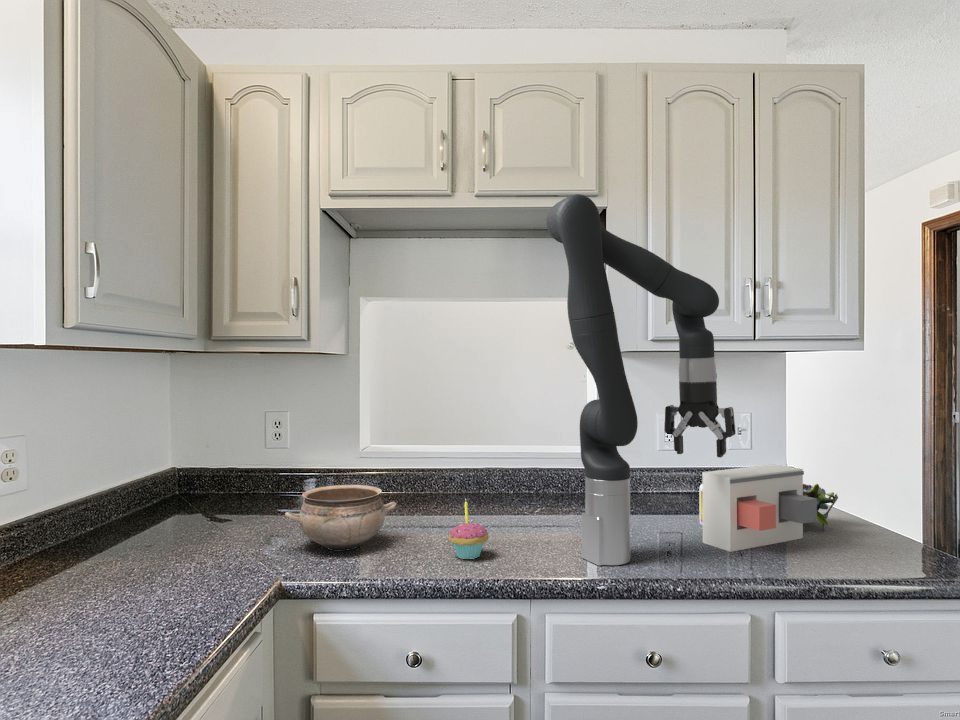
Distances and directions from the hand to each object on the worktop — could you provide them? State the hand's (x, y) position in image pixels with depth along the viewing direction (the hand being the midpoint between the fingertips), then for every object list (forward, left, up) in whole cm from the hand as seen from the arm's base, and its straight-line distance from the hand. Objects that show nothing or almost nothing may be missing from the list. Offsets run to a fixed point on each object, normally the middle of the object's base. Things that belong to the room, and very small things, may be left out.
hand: (700, 455), depth 140 cm
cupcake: (-44, +22, -22) cm, 54 cm away
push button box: (+19, +3, -21) cm, 29 cm away
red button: (+12, -4, -16) cm, 20 cm away
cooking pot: (-66, +42, -22) cm, 81 cm away
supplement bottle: (+21, +17, -22) cm, 34 cm away
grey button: (+25, -4, -16) cm, 30 cm away
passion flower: (+41, +5, -22) cm, 46 cm away
